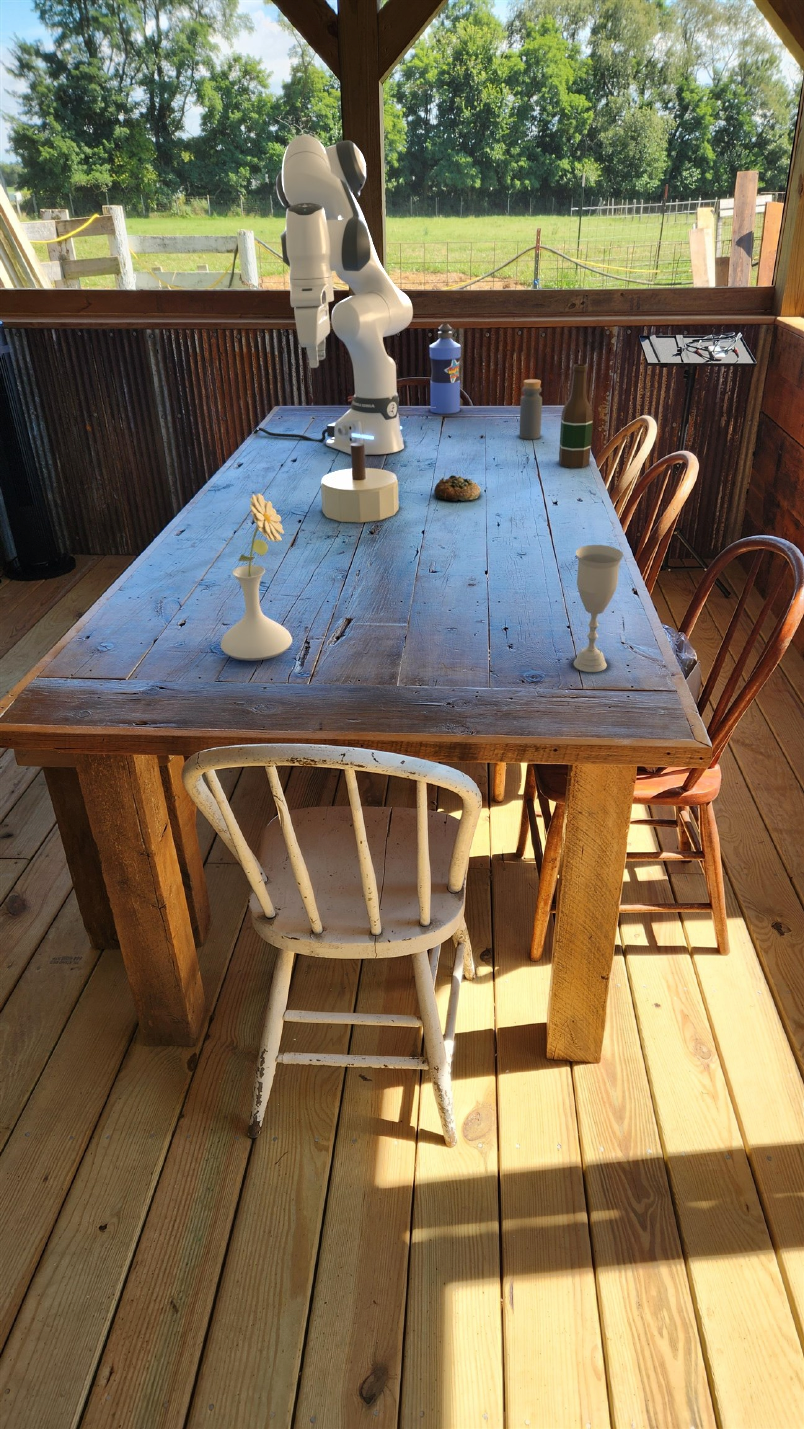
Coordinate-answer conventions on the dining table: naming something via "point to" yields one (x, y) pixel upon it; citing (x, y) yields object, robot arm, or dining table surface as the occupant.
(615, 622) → the dining table surface
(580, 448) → the beer bottle
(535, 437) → the bottle
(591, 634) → the chalice
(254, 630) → the flower in vase
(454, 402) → the water bottle
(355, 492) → the lid
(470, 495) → the bread roll
